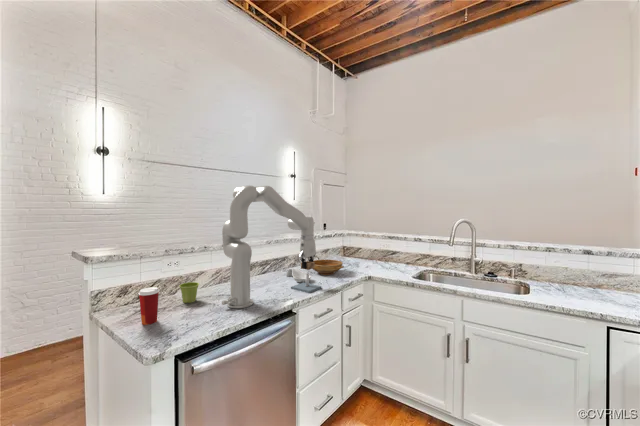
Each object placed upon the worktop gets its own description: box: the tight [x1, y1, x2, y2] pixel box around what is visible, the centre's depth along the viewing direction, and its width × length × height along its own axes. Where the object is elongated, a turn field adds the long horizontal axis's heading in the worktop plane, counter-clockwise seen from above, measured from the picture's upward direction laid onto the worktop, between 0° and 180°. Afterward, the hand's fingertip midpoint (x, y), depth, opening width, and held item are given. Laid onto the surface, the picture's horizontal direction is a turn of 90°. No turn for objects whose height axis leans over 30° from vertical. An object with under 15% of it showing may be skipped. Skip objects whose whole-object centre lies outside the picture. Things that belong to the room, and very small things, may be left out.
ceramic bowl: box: [312, 259, 345, 276], centre depth 207 cm, size 30×24×8 cm
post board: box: [290, 272, 322, 294], centre depth 168 cm, size 12×14×9 cm
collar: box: [300, 260, 315, 271], centre depth 169 cm, size 6×6×4 cm
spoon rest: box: [285, 267, 312, 284], centre depth 189 cm, size 24×12×7 cm, turn 36°
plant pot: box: [179, 281, 200, 304], centre depth 145 cm, size 9×9×9 cm
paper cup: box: [138, 286, 160, 326], centre depth 119 cm, size 8×8×14 cm
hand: (307, 266), depth 169 cm, fingers closed on collar, 6 cm apart
